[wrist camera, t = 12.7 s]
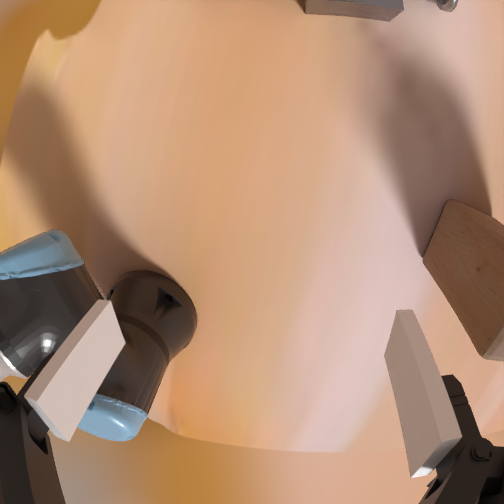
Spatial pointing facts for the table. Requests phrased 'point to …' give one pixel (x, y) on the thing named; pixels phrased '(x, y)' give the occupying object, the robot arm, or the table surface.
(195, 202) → the table surface
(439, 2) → the valve body
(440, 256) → the wooden block
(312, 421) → the table surface
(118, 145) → the table surface
